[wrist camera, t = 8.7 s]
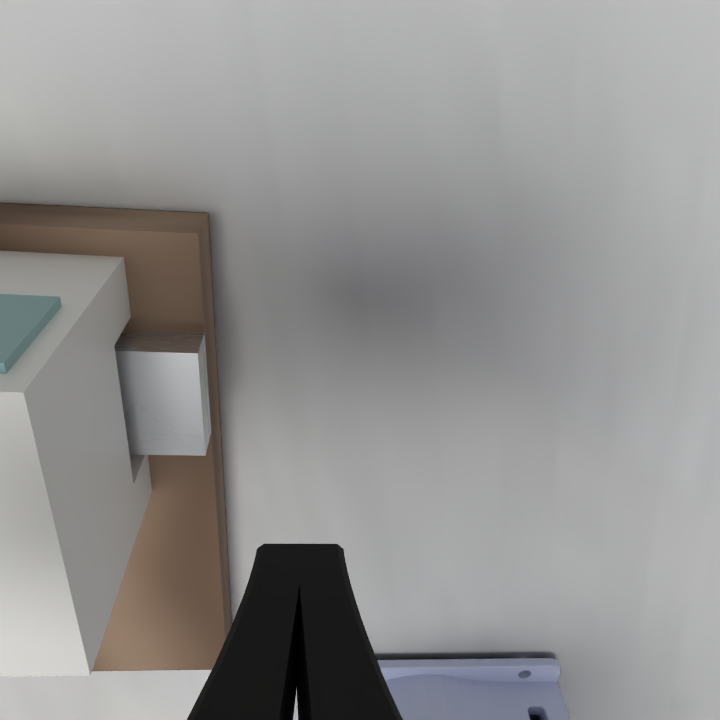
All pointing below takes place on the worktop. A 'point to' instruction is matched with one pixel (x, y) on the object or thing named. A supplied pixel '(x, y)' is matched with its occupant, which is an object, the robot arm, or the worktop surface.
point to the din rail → (164, 392)
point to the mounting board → (167, 472)
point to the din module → (63, 460)
